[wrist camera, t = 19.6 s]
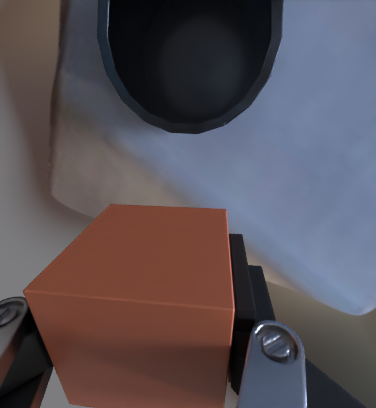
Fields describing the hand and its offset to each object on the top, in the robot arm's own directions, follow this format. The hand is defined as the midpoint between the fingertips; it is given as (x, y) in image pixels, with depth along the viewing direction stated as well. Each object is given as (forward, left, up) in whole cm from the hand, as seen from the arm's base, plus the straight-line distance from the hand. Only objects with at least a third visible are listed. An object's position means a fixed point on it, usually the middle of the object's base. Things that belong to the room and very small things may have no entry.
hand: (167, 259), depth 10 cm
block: (0, 0, 0) cm, 0 cm away
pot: (-7, -7, -17) cm, 20 cm away
